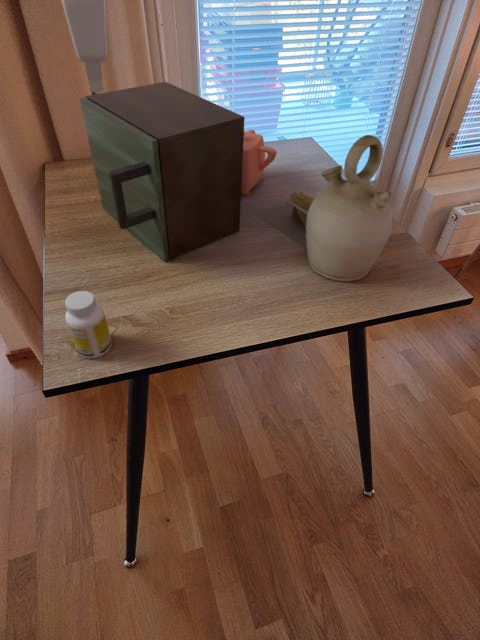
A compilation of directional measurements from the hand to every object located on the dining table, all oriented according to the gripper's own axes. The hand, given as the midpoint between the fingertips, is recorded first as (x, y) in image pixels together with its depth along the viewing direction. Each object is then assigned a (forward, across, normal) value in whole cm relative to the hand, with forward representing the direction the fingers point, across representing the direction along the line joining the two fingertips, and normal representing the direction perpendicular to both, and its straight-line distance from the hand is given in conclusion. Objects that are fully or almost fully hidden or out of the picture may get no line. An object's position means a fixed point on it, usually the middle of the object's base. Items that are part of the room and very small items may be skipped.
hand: (95, 81), depth 64 cm
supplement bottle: (+31, +26, -7) cm, 41 cm away
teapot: (+30, -21, +31) cm, 47 cm away
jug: (+30, +16, +41) cm, 53 cm away
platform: (+30, 0, +40) cm, 49 cm away
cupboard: (+30, -9, +12) cm, 33 cm away
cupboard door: (+30, -3, 0) cm, 30 cm away
